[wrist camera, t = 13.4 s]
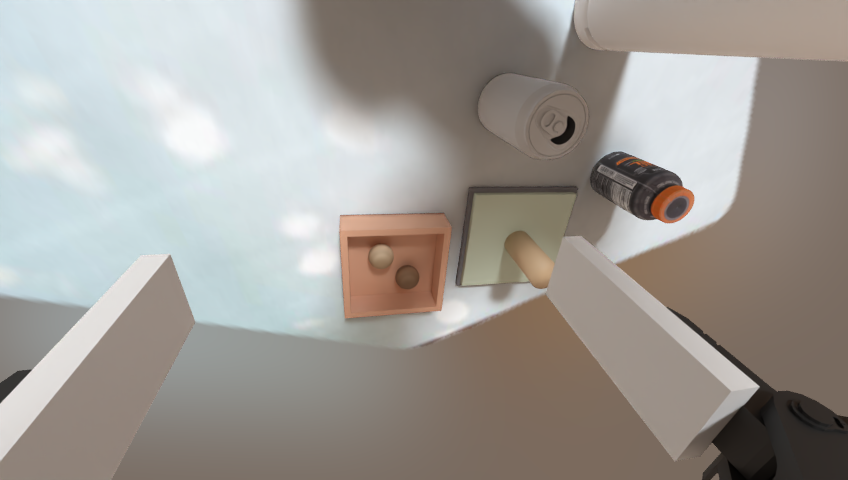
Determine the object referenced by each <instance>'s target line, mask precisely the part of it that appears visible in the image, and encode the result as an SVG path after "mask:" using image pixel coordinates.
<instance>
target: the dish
mask: <svg viewBox="0 0 848 480" xmlns="http://www.w3.org/2000/svg"><path fill="white" fill-rule="evenodd" d="M451 229H452V227H451V225H450V224H449V222H448V220H447V218H446V216H445V215H444V213H420V214H372V215H340V246H341V262H342V279H343V295H344V312H345V318H356V317H368V316H381V315H393V314H405V313H418V312H430V311H441V309H442V301H443V293H444V285H445V277H446V269H447V261H448V253H449V245H450V237H451ZM377 244H386V245H388V246H389V247H390V248H391V249H392V251H393V253H394V259H393V262H392V264H391V265H390V266H389V267H387V268H385V269H377V268H375V267H373V266H372V265H371V264H370V262H369V259H368V254H369V251H370V249H371V248H372V247H373V246H375V245H377ZM405 265H410V266H413V267H414V268H416V270H417V271H418V273H419V282H418V284H417V285H416V286H415V287H414V288H412V289H403V288H401V287H399V286H398V284H397V283H396V280H395V275H396V272H397V270H398V269H399V268H400V267H402V266H405Z"/></svg>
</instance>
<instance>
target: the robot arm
mask: <svg viewBox="0 0 848 480" xmlns="http://www.w3.org/2000/svg"><path fill="white" fill-rule="evenodd" d="M546 295H547V297H548V298H549V299H550V301H551V302H552V303H553V304H554V306H555V307H556V308H557V309H558V311H559V312H560V313H561V315H562V316H563V317H564V319H565V320H566V321H567V323H568V324H569V325H570V326H571V328H572V329H573V330H574V332H575V333H576V334H577V335H578V337H579V338H580V339H581V341H582V342H583V343H584V344H585V346H586V347H587V348H588V350H589V351H590V352H591V354H592V355H593V356H594V357H595V359H596V360H597V361H598V363H599V364H600V365H601V366H602V368H603V369H604V370H605V372H606V373H607V374H608V375H609V377H610V378H611V379H612V381H613V382H614V383H615V384H616V386H617V387H618V388H619V390H620V391H621V392H622V394H623V395H624V396H625V397H626V399H627V400H628V401H629V403H630V404H631V405H632V407H633V408H634V409H635V410H636V412H637V413H638V414H639V416H640V417H641V418H642V419H643V421H644V422H645V423H646V425H647V426H648V427H649V428H650V429H651V431H652V432H653V434H654V435H655V436H656V437H657V439H658V440H659V441H660V443H661V444H662V445H663V447H664V448H665V449H666V450H667V452H668V453H669V454H670V456H671V457H672V458H673V460H674V461H675V462H676V461H680V460H685V459H690V458H695V457H700V456H701V455H702V454H703V452H704V451H705V450H706V449H707V448H708V447H709V445H710V444H711V443H713V444H714V445H715V446H716V447H717V448H718V449H719V450H720V451H721V454H720V455H719V456H718V457H717V458H716V459H715V460H714V461H713V462H712V464H711V465H710V466H709V467H708V468H707V469H706V470H705V471H704V472H703V478H702V480H711V479H712V477H713V476H714V475H715V474H716V473H718V474H719V480H848V417H844V416H838V415H836V414H835V413H834V412H833V411H831V410H830V409H828V408H827V407H825V406H823V405H822V404H820V403H819V402H817V401H815V400H812V399H810V398H808V397H806V396H804V395H802V394H798V393H794V392H790V391H778V392H777V391H775V390H774V389H773V388H771V387H770V386H769V385H768V384H767V383H765V382H764V381H763V380H762V379H760V378H759V377H758V376H757V375H756V374H754V373H753V372H752V371H751V370H749V369H748V368H747V367H746V366H745V365H743V364H742V363H741V362H740V361H739V360H737V359H736V358H735V357H733V355H731V354H730V353H729V352H727V351H726V350H725V349H724V348H723V347H722V346H720V345H717V344H716V341H714V340H713V339H712V338H710V337H709V336H708V335H707V334H704V333H703V331H702V330H701V329H700V328H698V327H697V326H696V325H695V324H694V323H692V322H691V321H690V320H689V319H688V318H686V317H684V316H682V315H681V314H679V313H677V312H675V311H674V310H672V309H670V308H668V307H665V306H664V305H663V304H661V303H660V302H659V301H658V300H657V299H655V298H654V297H653V296H652V295H651V294H650V293H648V292H647V291H646V290H644V288H642V287H641V286H640V285H639V284H638V283H637V282H635V281H634V280H633V279H632V278H631V277H629V276H628V275H627V274H626V273H625V272H624V271H622V270H621V269H620V268H619V267H618V266H616V265H615V264H614V263H613V262H612V261H611V260H609V259H608V258H607V257H606V256H605V255H603V254H602V253H601V252H600V251H599V250H598V249H596V248H595V247H594V246H593V245H592V244H590V243H589V242H588V241H587V240H586V239H584V238H583V237H582V236H565V237H563V239H562V242H561V245H560V248H559V252H558V255H557V258H556V261H555V265H554V268H553V271H552V274H551V278H550V281H549V284H548V287H547V291H546ZM194 324H195V320H194V317H193V315H192V312H191V309H190V307H189V304H188V301H187V298H186V296H185V293H184V290H183V287H182V285H181V282H180V279H179V277H178V274H177V271H176V268H175V266H174V263H173V260H172V258H171V255H170V254H159V255H141V256H140V257H139V258H138V259H137V260H136V261H135V262H134V263H133V264H132V265H131V266H130V267H129V269H128V270H127V271H126V272H125V273H124V274H123V275H122V276H121V277H120V278H119V279H118V280H117V281H116V282H115V283H114V284H113V285H112V286H111V288H110V289H109V290H108V291H107V292H106V293H105V294H104V295H103V296H102V297H101V298H100V299H99V300H98V301H97V302H96V303H95V304H94V305H93V306H92V308H91V309H90V310H89V311H88V312H87V313H86V314H85V315H84V316H83V317H82V318H81V319H80V320H79V321H78V322H77V323H76V325H74V327H73V328H72V329H71V330H70V331H69V332H68V333H67V334H66V335H65V336H64V337H63V338H62V339H61V340H60V341H59V343H57V344H56V345H55V347H54V348H53V349H52V350H51V351H50V352H49V353H48V354H47V355H46V356H45V357H44V358H43V359H42V360H41V361H40V362H39V363H38V364H37V366H36V367H35V368H34V369H33V370H22V371H17V372H16V373H14V374H13V375H11V376H10V377H8V378H7V379H6V380H4V381H2V382H1V383H0V480H111V479H112V477H113V475H114V473H115V471H116V470H117V468H118V466H119V464H120V462H121V460H122V458H123V456H124V454H125V453H126V451H127V449H128V447H129V445H130V443H131V441H132V440H133V438H134V436H135V434H136V432H137V430H138V428H139V426H140V424H141V423H142V421H143V419H144V417H145V415H146V413H147V412H148V410H149V407H150V406H151V404H152V402H153V400H154V398H155V397H156V395H157V392H158V391H159V389H160V387H161V385H162V383H163V382H164V380H165V378H166V376H167V374H168V372H169V370H170V369H171V367H172V365H173V363H174V361H175V359H176V357H177V355H178V354H179V352H180V350H181V348H182V346H183V344H184V342H185V340H186V338H187V337H188V335H189V333H190V331H191V329H192V327H193V325H194Z"/></svg>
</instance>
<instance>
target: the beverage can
mask: <svg viewBox="0 0 848 480" xmlns="http://www.w3.org/2000/svg"><path fill="white" fill-rule="evenodd" d="M478 114H479V118H480V121H481V123H482V124H483V126H484V127H485V128H486V129H487V130H489V131H490V132H492V133H493V134H495V135H496V136H498V137H499V138H501V139H502V140H504V141H506V142H507V143H509V144H510V145H512V146H513V147H515V148H516V149H518V150H519V151H521V152H523V153H524V154H526V155H527V156H529V157H531V158H534V159H541V160H543V159H548V160H551V159H557V158H560V157H562V156H564V155H566V154H568V153H569V152H571V151H572V150H573V149H574V148H575V147H576V146H577V145H578V144H579V143H580V141H581V140H582V138H583V136H584V134H585V132H586V130H587V126H588V122H589V111H588V106H587V103H586V102H585V100H584V98H583V97H582V96H581V95H580V94H579V93H578V92H577V91H576V90H575V89H574V88H573V87H571V86H569V85H567V84H564V83H559V82H554V81H549V80H544V79H539V78H534V77H529V76H524V75H519V74H514V73H505V74H501V75H499V76H497V77H495V78H493V79H492V80H491V81H490V82H489V83H488V84H487V85H486V86H485V88H484V89H483V91H482V93H481V95H480V98H479V102H478Z"/></svg>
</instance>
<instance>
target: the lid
mask: <svg viewBox="0 0 848 480" xmlns="http://www.w3.org/2000/svg"><path fill="white" fill-rule="evenodd" d="M576 196H577V194H576V193H574V192H527V193H474V197H473V203H472V210H471V216H470V223H469V229H468V236H467V242H466V249H465V256H464V262H463V269H462V275H461V282H460V283H461V285H462V286H469V285H484V284H500V283H515V282H531V284H532V285H533V286H534V287H536V288H539V289H543V288H547V287H548V284H549V281H550V278H551V274H552V271H553V268H554V265H555V261H556V258H557V255H558V252H559V248H560V245H561V242H562V239H563V237H564V234H565V231H566V227H567V224H568V221H569V218H570V215H571V212H572V208H573V205H574V202H575V199H576Z"/></svg>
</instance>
